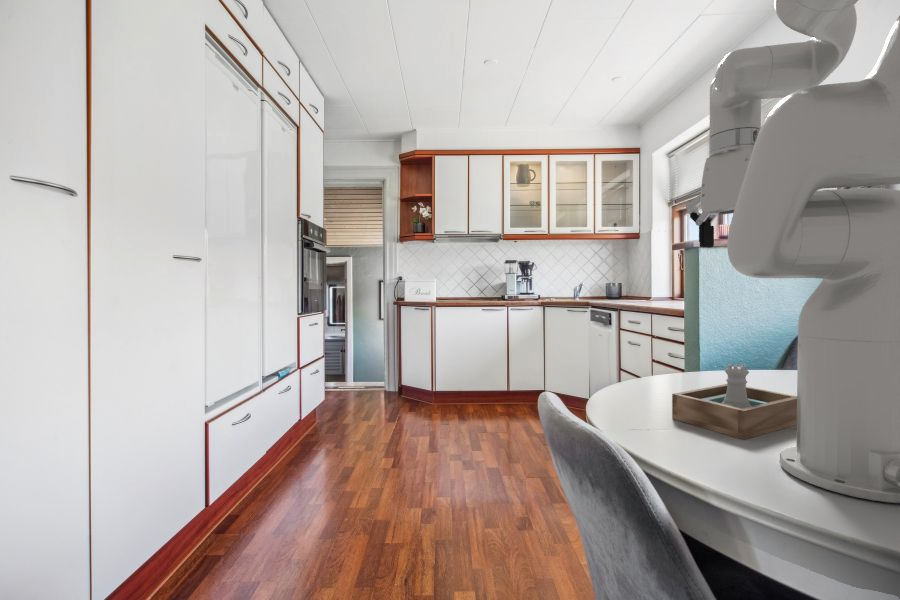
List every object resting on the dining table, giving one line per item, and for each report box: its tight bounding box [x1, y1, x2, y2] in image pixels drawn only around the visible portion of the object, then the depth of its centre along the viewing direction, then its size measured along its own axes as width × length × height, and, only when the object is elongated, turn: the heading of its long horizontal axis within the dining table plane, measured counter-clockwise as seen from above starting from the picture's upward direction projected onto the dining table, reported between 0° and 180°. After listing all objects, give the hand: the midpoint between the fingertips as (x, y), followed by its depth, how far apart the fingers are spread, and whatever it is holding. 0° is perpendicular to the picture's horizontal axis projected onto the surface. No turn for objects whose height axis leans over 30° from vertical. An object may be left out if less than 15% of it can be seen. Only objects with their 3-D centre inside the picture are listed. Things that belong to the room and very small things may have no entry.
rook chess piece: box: [722, 363, 752, 408], centre depth 69 cm, size 4×4×8 cm
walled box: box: [671, 383, 797, 441], centre depth 69 cm, size 11×15×4 cm
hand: (733, 244), depth 77 cm, fingers open, 9 cm apart
